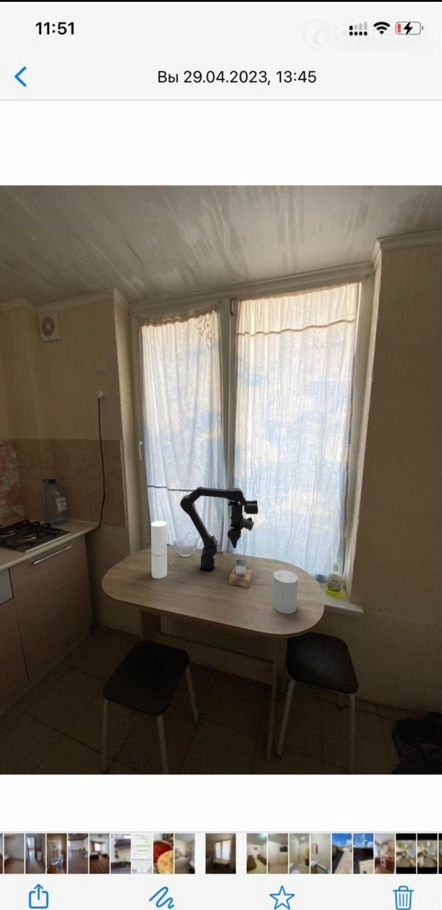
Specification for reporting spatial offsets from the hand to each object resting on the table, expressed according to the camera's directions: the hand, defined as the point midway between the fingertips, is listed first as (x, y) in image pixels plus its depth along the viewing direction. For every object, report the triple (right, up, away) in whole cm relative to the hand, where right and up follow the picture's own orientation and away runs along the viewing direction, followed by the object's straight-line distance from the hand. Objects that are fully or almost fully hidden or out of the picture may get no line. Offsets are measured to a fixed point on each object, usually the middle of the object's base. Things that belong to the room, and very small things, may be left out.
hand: (236, 544), depth 125 cm
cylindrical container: (-37, -13, -6) cm, 40 cm away
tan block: (+2, -14, -10) cm, 17 cm away
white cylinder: (+18, -15, -26) cm, 35 cm away
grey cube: (+2, -10, -10) cm, 14 cm away
